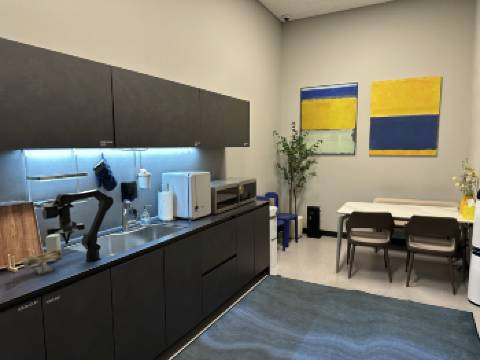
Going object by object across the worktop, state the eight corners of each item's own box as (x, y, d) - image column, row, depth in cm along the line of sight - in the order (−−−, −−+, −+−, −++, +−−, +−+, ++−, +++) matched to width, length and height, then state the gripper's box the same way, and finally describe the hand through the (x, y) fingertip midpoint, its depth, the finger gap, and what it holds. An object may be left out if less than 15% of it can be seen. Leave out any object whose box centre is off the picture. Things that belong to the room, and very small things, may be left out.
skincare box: (58, 261, 199) (56, 236, 198) (46, 262, 198) (44, 237, 196) (62, 256, 207) (60, 233, 206) (51, 257, 206) (49, 234, 204)
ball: (27, 261, 181) (35, 258, 183) (29, 265, 178) (37, 262, 180) (25, 255, 179) (33, 252, 181) (27, 260, 176) (35, 256, 178)
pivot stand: (50, 266, 190) (49, 256, 189) (53, 271, 181) (52, 260, 181) (35, 269, 186) (34, 258, 185) (38, 274, 177) (37, 263, 177)
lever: (61, 256, 191) (58, 246, 190) (63, 259, 186) (60, 249, 185) (24, 268, 181) (21, 258, 180) (25, 271, 175) (22, 261, 174)
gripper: (47, 221, 174) (49, 250, 175) (86, 216, 185) (88, 243, 187) (44, 217, 183) (46, 246, 184) (81, 213, 194) (83, 239, 195)
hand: (66, 243), depth 187 cm, fingers closed
